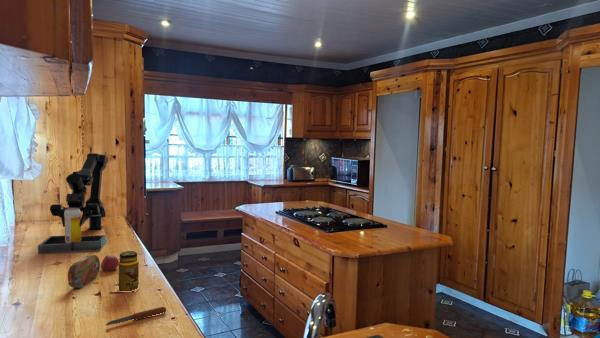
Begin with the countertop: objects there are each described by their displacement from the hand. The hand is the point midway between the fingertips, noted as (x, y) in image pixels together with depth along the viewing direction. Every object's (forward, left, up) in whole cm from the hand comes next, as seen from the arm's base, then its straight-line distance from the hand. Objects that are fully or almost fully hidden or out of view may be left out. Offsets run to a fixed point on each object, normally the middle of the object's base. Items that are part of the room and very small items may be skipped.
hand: (72, 226), depth 166 cm
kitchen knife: (+74, +34, -10) cm, 82 cm away
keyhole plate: (-1, +1, -10) cm, 10 cm away
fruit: (+31, +21, -10) cm, 39 cm away
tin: (+43, +14, -10) cm, 46 cm away
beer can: (-1, 0, -8) cm, 8 cm away
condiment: (+51, +28, -10) cm, 59 cm away
